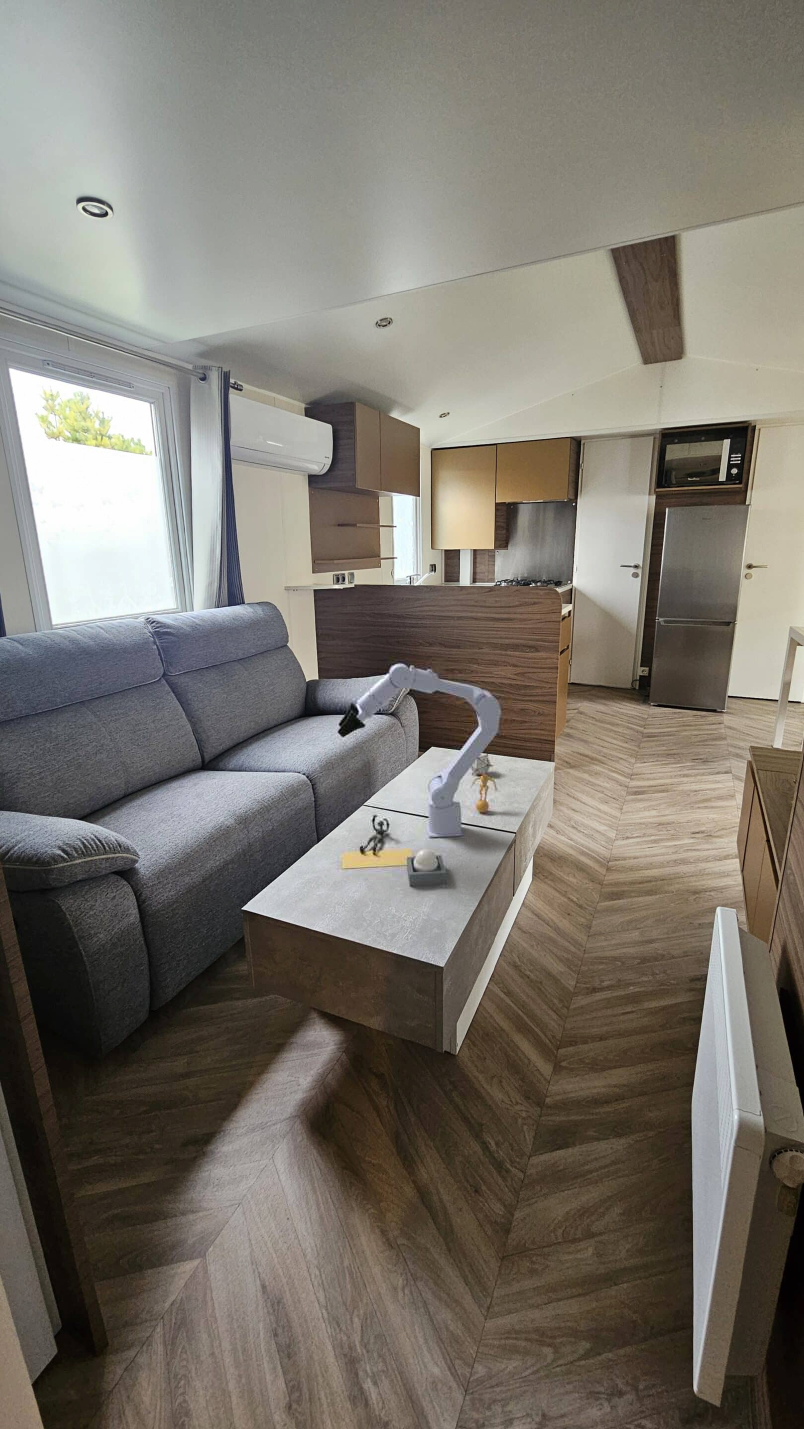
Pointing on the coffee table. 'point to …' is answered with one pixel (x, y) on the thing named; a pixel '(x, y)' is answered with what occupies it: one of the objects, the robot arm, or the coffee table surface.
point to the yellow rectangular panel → (376, 858)
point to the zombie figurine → (378, 835)
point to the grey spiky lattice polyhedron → (481, 765)
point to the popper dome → (425, 861)
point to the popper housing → (426, 874)
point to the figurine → (483, 804)
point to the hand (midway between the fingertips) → (340, 730)
